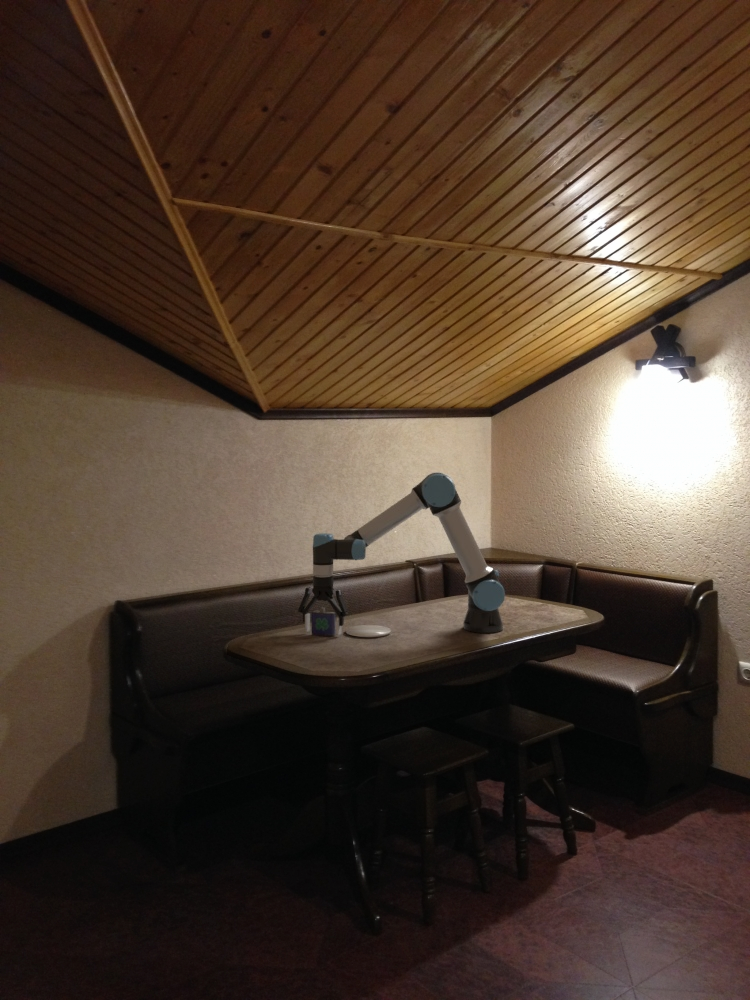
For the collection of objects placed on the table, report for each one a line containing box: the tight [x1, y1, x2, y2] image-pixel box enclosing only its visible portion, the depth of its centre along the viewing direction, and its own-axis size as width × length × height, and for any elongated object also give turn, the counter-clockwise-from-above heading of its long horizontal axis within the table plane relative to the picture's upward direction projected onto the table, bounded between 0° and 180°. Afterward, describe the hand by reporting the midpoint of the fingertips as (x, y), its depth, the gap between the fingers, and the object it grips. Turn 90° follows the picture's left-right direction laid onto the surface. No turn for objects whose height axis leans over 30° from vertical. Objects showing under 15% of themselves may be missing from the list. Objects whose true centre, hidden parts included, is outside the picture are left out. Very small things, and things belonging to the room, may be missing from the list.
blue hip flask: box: [311, 606, 336, 638], centre depth 306 cm, size 9×3×11 cm, turn 74°
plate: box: [345, 624, 392, 638], centre depth 310 cm, size 17×17×1 cm
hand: (323, 632), depth 306 cm, fingers open, 12 cm apart
